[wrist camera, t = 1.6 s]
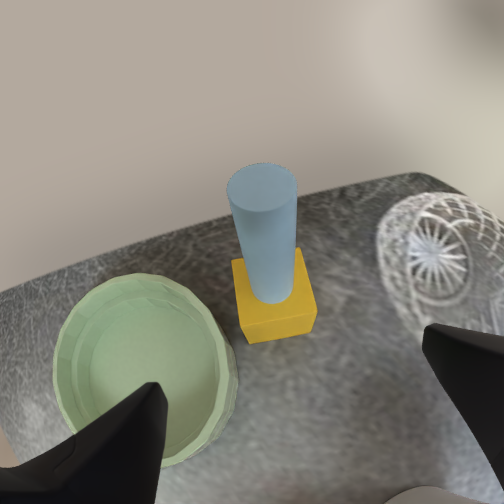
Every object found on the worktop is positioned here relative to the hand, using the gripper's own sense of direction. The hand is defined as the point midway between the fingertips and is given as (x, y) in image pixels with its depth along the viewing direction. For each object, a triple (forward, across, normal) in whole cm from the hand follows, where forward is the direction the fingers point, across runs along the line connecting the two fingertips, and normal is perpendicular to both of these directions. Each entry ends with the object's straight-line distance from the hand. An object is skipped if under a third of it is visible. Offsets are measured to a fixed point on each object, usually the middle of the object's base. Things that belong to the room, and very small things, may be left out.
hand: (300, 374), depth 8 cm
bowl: (+11, +11, +7) cm, 17 cm away
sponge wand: (+14, 0, +4) cm, 15 cm away
